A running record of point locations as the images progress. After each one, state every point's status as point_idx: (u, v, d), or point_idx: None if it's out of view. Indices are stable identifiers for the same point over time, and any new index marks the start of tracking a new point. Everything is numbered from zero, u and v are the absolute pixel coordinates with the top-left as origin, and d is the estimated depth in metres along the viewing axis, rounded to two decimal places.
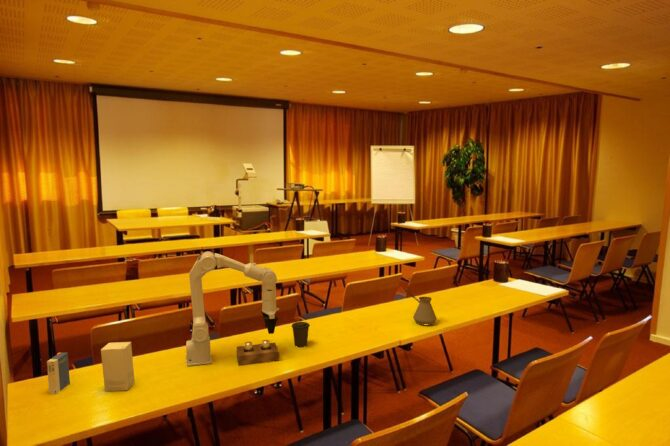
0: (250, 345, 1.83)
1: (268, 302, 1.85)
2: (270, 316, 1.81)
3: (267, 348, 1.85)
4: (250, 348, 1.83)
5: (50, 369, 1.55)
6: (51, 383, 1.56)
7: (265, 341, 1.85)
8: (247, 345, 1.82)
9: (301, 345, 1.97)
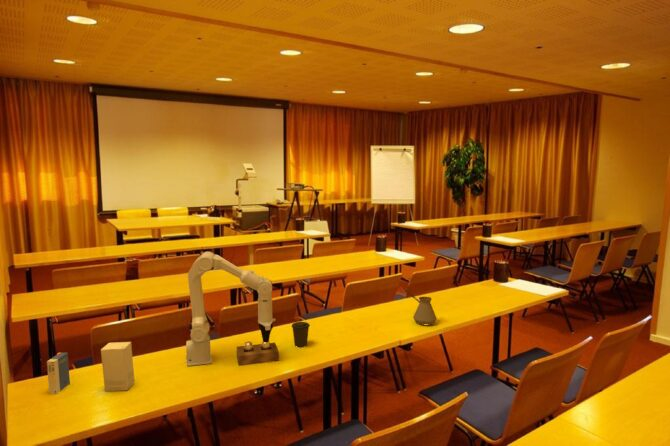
0: (250, 345, 1.83)
1: (264, 313, 1.81)
2: (266, 327, 1.78)
3: (267, 348, 1.85)
4: (250, 348, 1.83)
5: (50, 369, 1.55)
6: (51, 383, 1.56)
7: None
8: (247, 345, 1.82)
9: (301, 345, 1.97)
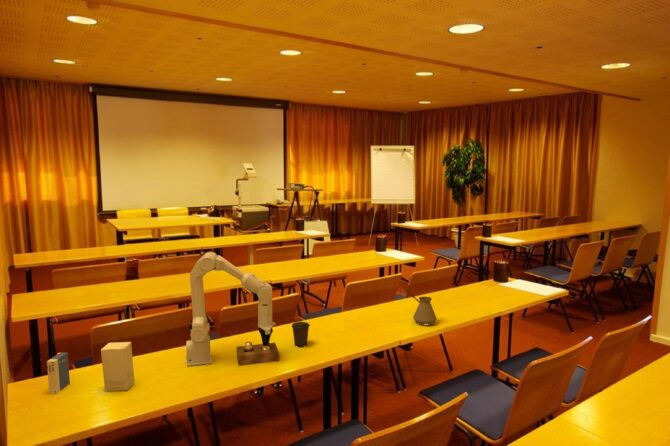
0: (250, 345, 1.83)
1: (264, 317, 1.81)
2: (266, 331, 1.78)
3: None
4: (250, 348, 1.83)
5: (50, 369, 1.55)
6: (51, 383, 1.56)
7: (265, 348, 1.85)
8: (247, 345, 1.82)
9: (301, 345, 1.97)
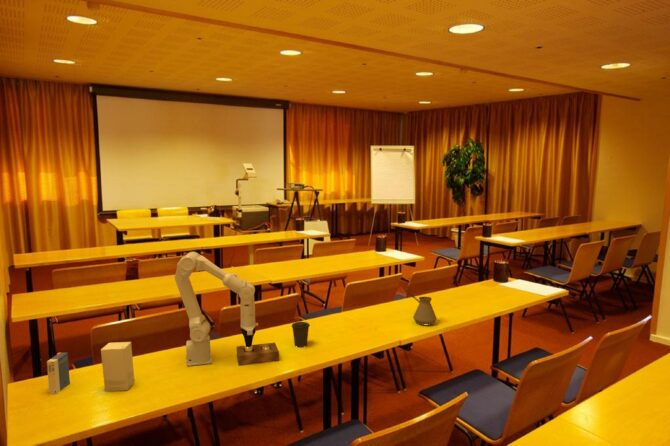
0: (250, 348, 1.83)
1: (246, 317, 1.79)
2: (248, 332, 1.76)
3: None
4: (250, 351, 1.83)
5: (50, 369, 1.55)
6: (51, 383, 1.56)
7: (265, 348, 1.85)
8: (247, 348, 1.82)
9: (301, 345, 1.97)
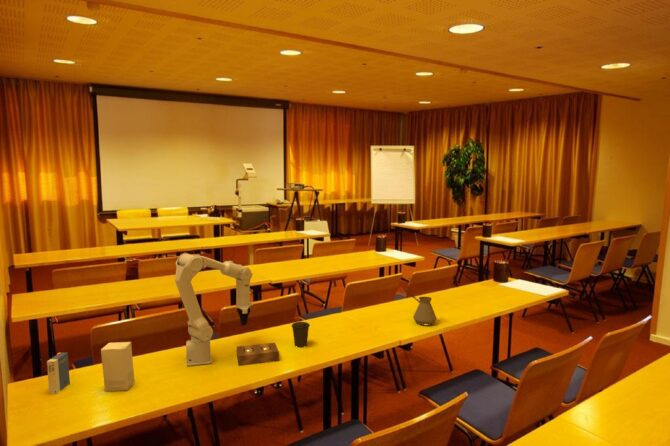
0: None
1: (242, 297, 1.92)
2: (243, 311, 1.88)
3: None
4: None
5: (50, 369, 1.55)
6: (51, 383, 1.56)
7: (265, 348, 1.85)
8: None
9: (301, 345, 1.97)
